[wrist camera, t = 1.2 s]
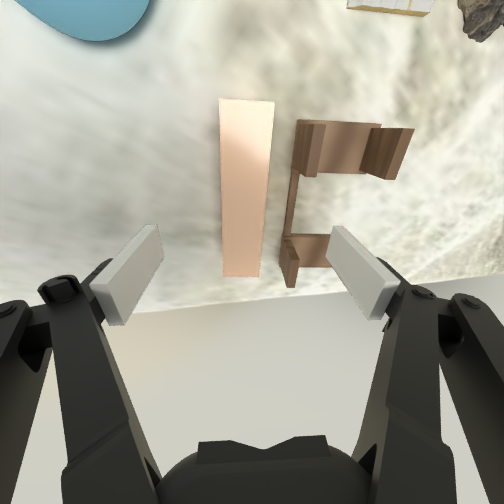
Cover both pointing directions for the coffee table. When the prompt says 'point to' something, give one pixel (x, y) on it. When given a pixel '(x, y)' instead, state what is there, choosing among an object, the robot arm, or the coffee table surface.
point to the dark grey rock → (481, 17)
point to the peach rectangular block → (244, 182)
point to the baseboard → (393, 6)
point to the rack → (335, 161)
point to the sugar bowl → (88, 16)
